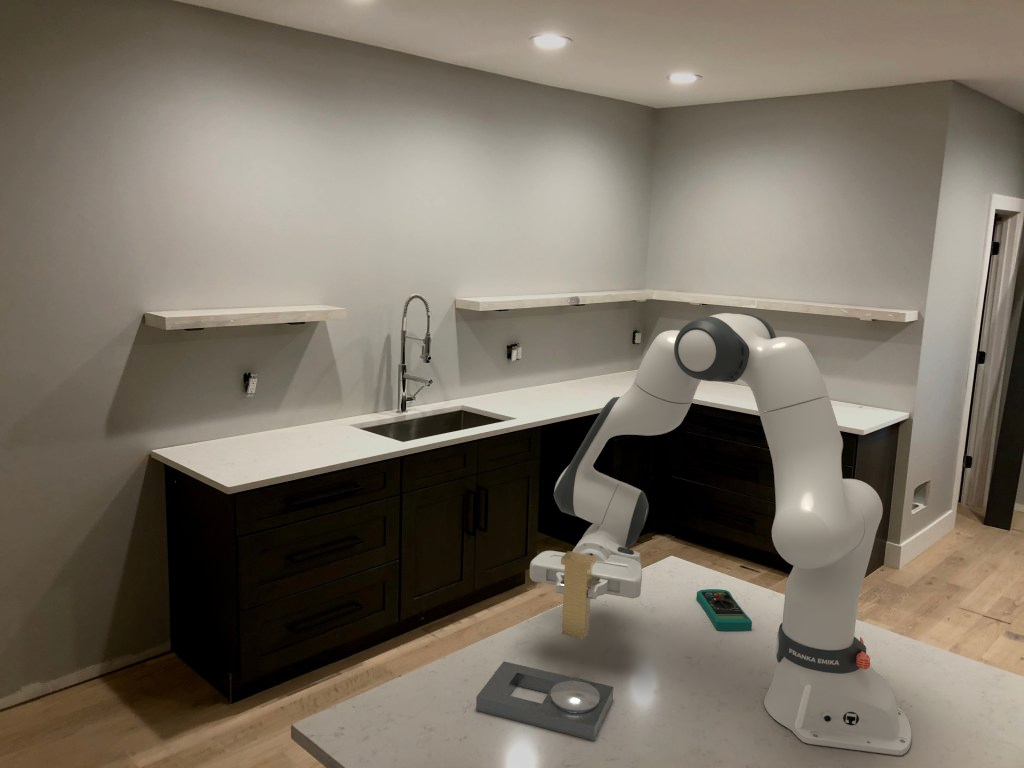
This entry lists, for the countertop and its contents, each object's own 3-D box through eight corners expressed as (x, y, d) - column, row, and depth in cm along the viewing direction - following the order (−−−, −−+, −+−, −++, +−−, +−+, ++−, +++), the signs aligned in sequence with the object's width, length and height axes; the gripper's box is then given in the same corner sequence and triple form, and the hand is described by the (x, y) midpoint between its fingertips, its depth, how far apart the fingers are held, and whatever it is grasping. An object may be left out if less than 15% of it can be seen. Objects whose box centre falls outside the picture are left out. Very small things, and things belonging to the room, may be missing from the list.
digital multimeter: (727, 599, 175) (728, 587, 174) (752, 633, 160) (753, 619, 160) (694, 600, 174) (695, 587, 174) (716, 633, 160) (717, 619, 159)
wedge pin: (592, 631, 140) (596, 556, 137) (586, 640, 137) (590, 564, 134) (564, 625, 142) (567, 551, 139) (557, 634, 138) (561, 558, 136)
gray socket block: (612, 700, 135) (613, 682, 134) (594, 741, 124) (595, 721, 123) (503, 674, 142) (503, 657, 141) (476, 710, 131) (476, 692, 130)
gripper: (541, 537, 152) (518, 565, 139) (648, 554, 146) (635, 584, 133) (540, 568, 153) (517, 598, 141) (646, 586, 147) (633, 619, 134)
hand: (575, 592), depth 137 cm, fingers closed on wedge pin, 4 cm apart
